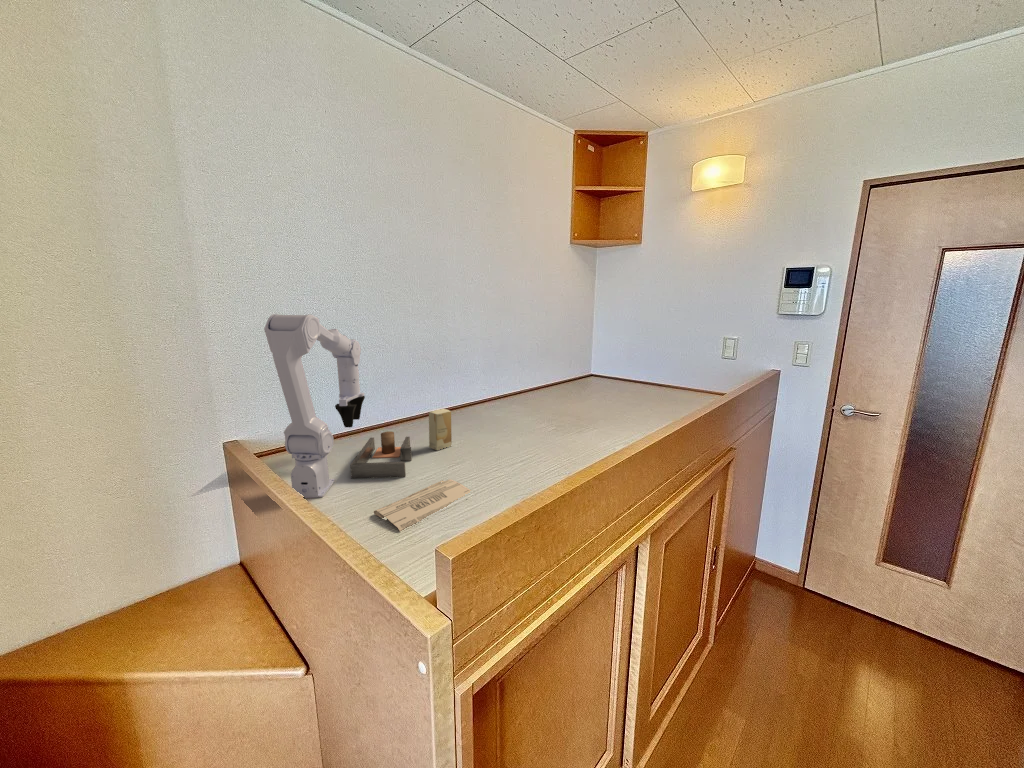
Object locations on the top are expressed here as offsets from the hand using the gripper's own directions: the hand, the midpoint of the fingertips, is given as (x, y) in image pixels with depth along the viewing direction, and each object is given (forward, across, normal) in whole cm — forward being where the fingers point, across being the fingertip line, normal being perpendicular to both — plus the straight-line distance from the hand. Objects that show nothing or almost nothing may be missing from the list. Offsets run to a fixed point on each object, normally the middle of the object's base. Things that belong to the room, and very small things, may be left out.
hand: (352, 423), depth 123 cm
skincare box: (+11, +5, -26) cm, 29 cm away
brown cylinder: (+10, +1, -10) cm, 14 cm away
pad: (+10, +1, -10) cm, 14 cm away
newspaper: (+11, -32, -25) cm, 42 cm away
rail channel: (+10, -7, -11) cm, 17 cm away
